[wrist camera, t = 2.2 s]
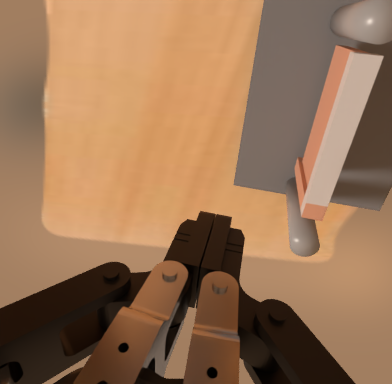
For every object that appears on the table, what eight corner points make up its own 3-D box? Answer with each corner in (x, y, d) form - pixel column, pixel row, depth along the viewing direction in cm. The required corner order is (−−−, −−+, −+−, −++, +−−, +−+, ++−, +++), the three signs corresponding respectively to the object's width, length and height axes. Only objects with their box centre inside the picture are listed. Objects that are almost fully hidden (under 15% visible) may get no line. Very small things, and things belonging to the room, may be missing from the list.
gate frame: (270, -34, 21) (267, -70, 13) (487, -21, 19) (653, -54, 11) (234, 180, 31) (219, 240, 22) (378, 205, 29) (422, 282, 20)
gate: (329, 43, 22) (354, 53, 15) (349, 45, 21) (383, 55, 15) (294, 168, 27) (301, 217, 20) (309, 171, 27) (322, 221, 20)
